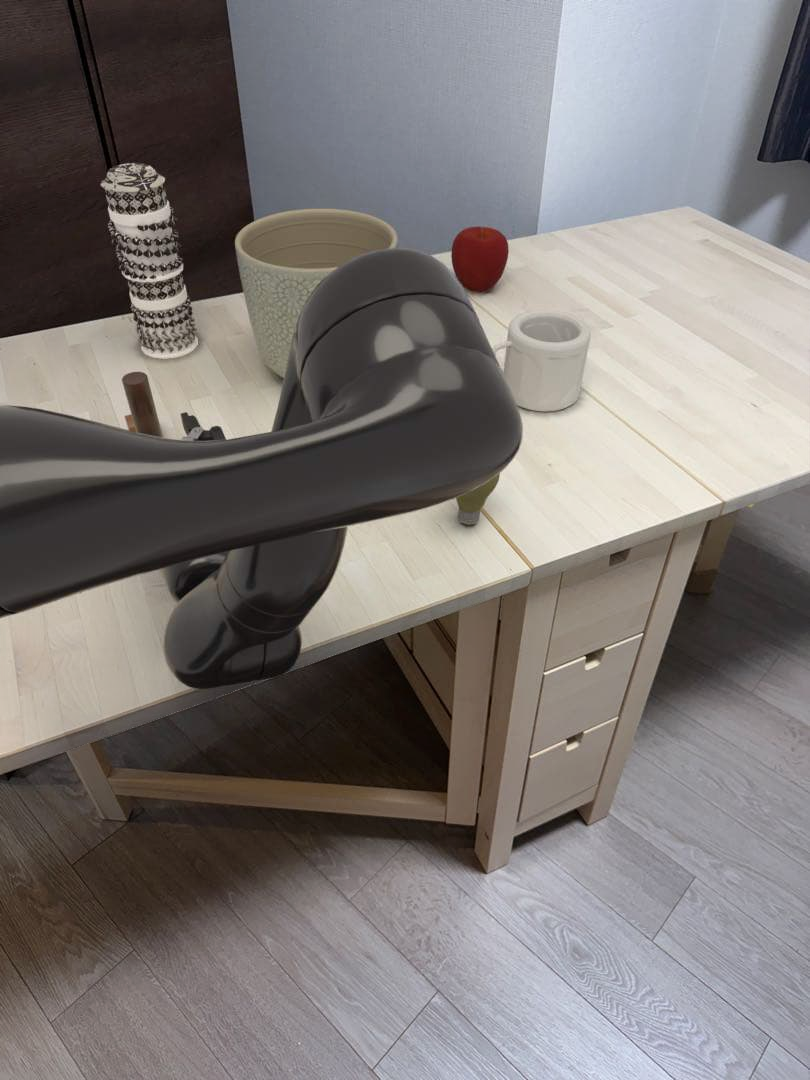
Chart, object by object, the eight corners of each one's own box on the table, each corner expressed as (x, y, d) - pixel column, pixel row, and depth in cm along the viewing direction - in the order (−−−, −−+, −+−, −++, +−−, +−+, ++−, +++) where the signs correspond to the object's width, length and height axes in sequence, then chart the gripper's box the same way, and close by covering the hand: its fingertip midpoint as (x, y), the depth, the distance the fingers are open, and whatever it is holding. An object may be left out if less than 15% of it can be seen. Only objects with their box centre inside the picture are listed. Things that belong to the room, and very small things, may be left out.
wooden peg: (197, 483, 88) (173, 379, 78) (135, 500, 85) (102, 395, 76) (188, 464, 90) (164, 361, 81) (128, 480, 88) (95, 375, 78)
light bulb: (502, 532, 83) (512, 459, 76) (456, 544, 81) (462, 471, 74) (480, 501, 86) (487, 430, 80) (436, 513, 85) (440, 441, 78)
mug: (557, 367, 109) (568, 303, 102) (592, 406, 102) (607, 339, 95) (471, 381, 106) (477, 316, 99) (501, 422, 99) (509, 354, 92)
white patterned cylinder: (206, 330, 116) (174, 157, 99) (194, 360, 109) (157, 180, 92) (147, 330, 116) (105, 157, 99) (132, 359, 109) (83, 179, 92)
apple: (512, 297, 126) (519, 237, 119) (458, 302, 125) (462, 242, 118) (494, 274, 133) (500, 216, 126) (443, 278, 131) (446, 220, 124)
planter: (424, 359, 110) (428, 229, 97) (338, 424, 98) (329, 285, 85) (315, 321, 119) (306, 197, 106) (223, 377, 106) (199, 243, 93)
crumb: (158, 442, 94) (153, 422, 92) (134, 447, 93) (128, 427, 91) (153, 429, 96) (148, 410, 94) (129, 435, 95) (124, 415, 93)
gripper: (250, 465, 70) (204, 383, 81) (93, 508, 65) (66, 415, 76) (260, 525, 75) (215, 440, 86) (115, 568, 70) (87, 473, 81)
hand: (145, 428), depth 81 cm, fingers open, 8 cm apart
